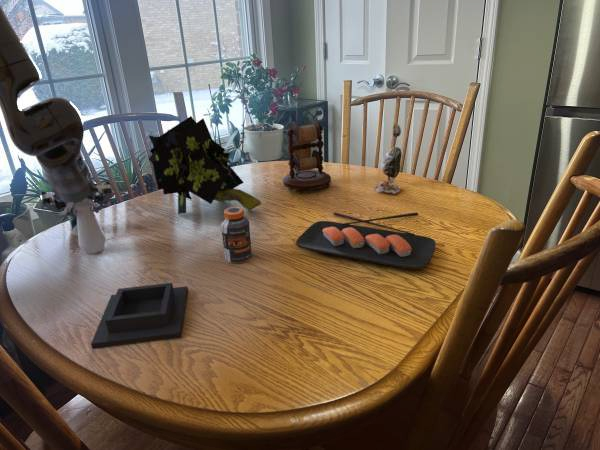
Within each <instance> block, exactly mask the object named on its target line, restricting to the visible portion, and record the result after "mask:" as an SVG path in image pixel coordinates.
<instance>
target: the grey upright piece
mask: <svg viewBox="0 0 600 450" xmlns="http://www.w3.org/2000/svg"><path fill="white" fill-rule="evenodd" d="M392 131H393V132H392V136H393V137H394V146H393V147H391V148H390V149H389V150H388V151H387V153H386V154H384V156H383V158H382V160H381V162H382V163H381V169H382V173H383V174H384V175H385V176H387V181H386V180H383V181H380V183H377V184H376V185H375V186H374V189H375V192H376V193H381V192H383V193H384V192H385V193H387V194H391V195H396V194H398V193H399V192H400V191H402V188H401V186H400V185H398V184H395V183H394V181H395V179H396V178H397V176H398V175H399V173H400V170H401V161H402V150H401V147H399V146H396V145H397V140H398V137H400V135H401V133H402V129H401V126H400V124H398V123H395V124H393V129H392Z"/></svg>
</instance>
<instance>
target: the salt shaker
mask: <svg viewBox="0 0 600 450" xmlns="http://www.w3.org/2000/svg"><path fill="white" fill-rule="evenodd" d="M91 207H92V208H91ZM72 208H73V209H74V210H76V215H77V228H78V236H77V242H78V247H79V248H80V249H81V250H83V251H84V253H85V254H87V255H96V254H97V253H100V252H102V251H104V248H105V245H106V240H107V238H106V235H105V233H104V231H103V229H102V227H101V225H100V222H99V220H98V218H97V216H96V215H95V214H96V213H95V211H94V209H93V205H89V204H88V203H86V202H85V201H84V202H77V203H73V207H72ZM92 209H93V210H92Z"/></svg>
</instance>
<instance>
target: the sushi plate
mask: <svg viewBox="0 0 600 450" xmlns="http://www.w3.org/2000/svg"><path fill="white" fill-rule="evenodd" d="M332 214H333V216H336V217H340V218H344V219H348V220H352V221H351V222H344V223H343V222H338V221H337V222H336V221H331V220H330V221H329V220H319V221H316V222H314V223H312V224H311V225H310V226H309V227H308V228H307V229H306V230H305V231H303V232H302V233H301V235H299V237H298V238H297V239H296V241H295V245H296V246H297V247H298V248H300V249H304V250H308V251H312V252H317V253H322V254H327V255H333V256H339V257H344V258H349V259H354V260H359V261H365V262H370V263H376V264H379V265H386V266H390V267H397V268H401V269H409V270H423V269H425V268H427V266H428V265H429V263H430V262H431V259H432V258H433V255H434V252H435V250H436V246H437V243H436V240H435V239H434V238H431V237H428V236H424V235H419V234H416V233H413V232H410V231H405V230H402V229H399V228H395V227H391V226H387V225H382V224H380V223H375V221H384V220H392V219H399V218H406V217H414V216H418V215H419V212H409V213H403V214H396V215H390V216H384V217H377V218H370V219H361V218H357V217H354V216H350V215H347V214H343V213H339V212H336V211H335V212H333V213H332ZM360 223H363V224H364V223H365V224H369V225H373V226H376V227H381V228H375V227H369V226H363V225H356V224H360ZM382 228H384V229H382ZM388 229H389V230H388Z"/></svg>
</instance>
